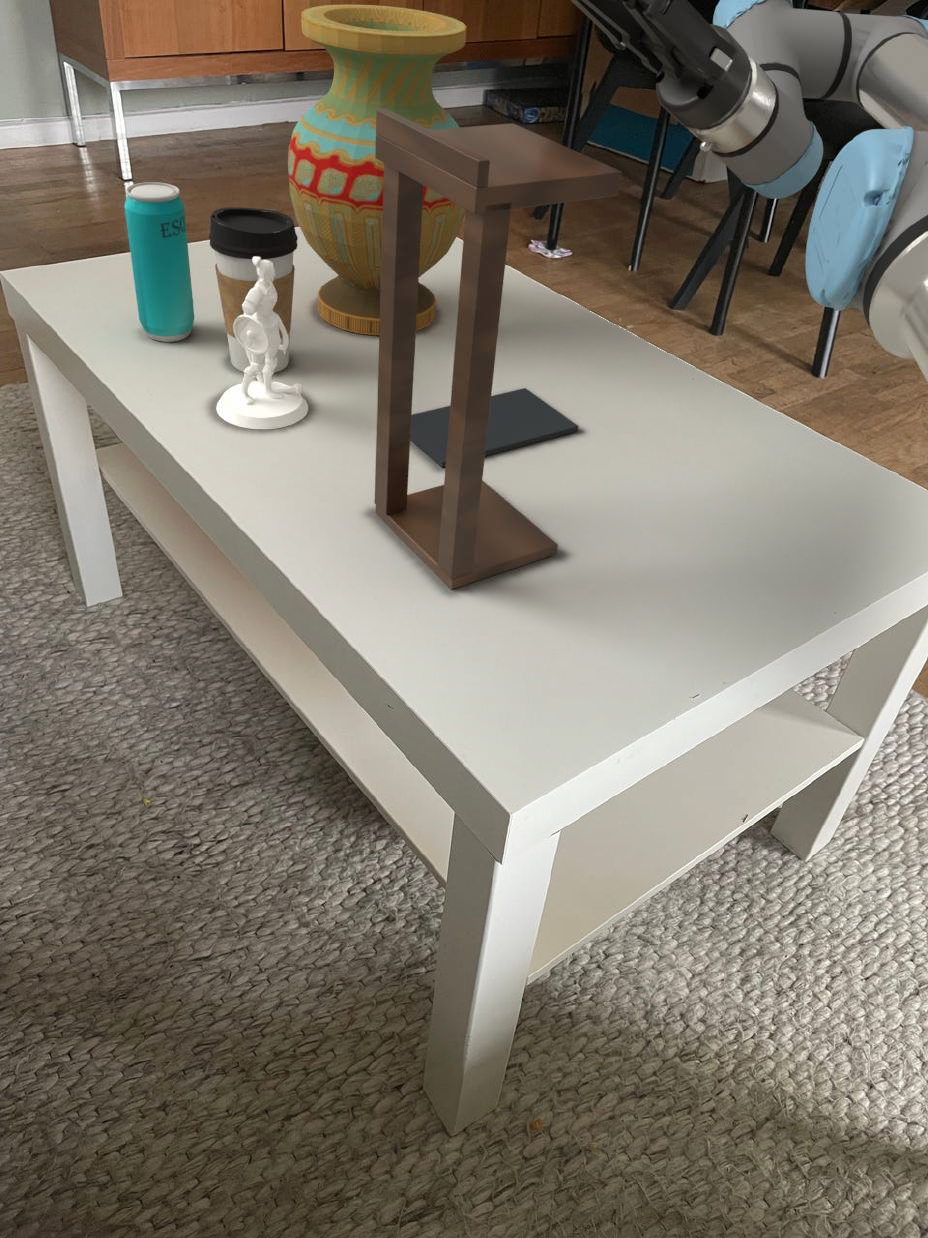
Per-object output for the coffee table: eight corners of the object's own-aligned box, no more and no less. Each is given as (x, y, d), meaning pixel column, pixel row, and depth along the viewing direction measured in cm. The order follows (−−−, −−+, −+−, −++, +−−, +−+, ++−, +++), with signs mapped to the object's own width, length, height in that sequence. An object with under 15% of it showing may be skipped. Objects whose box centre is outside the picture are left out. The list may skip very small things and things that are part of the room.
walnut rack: (476, 484, 90) (515, 99, 70) (556, 554, 83) (626, 146, 63) (366, 515, 85) (375, 108, 65) (442, 593, 78) (479, 160, 58)
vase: (495, 319, 119) (524, 31, 100) (371, 363, 108) (378, 45, 89) (381, 268, 129) (388, -4, 110) (256, 303, 117) (241, 6, 98)
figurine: (266, 438, 93) (259, 280, 84) (196, 408, 97) (181, 253, 87) (326, 405, 99) (325, 253, 90) (258, 378, 103) (251, 229, 93)
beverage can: (207, 332, 110) (194, 189, 101) (169, 349, 106) (153, 202, 97) (167, 317, 112) (151, 177, 103) (129, 334, 108) (109, 189, 99)
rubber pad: (524, 392, 105) (525, 387, 105) (577, 431, 100) (578, 425, 99) (392, 424, 98) (392, 418, 97) (441, 467, 92) (442, 462, 92)
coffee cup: (214, 347, 108) (202, 202, 98) (293, 342, 110) (289, 201, 100) (224, 382, 101) (212, 232, 92) (307, 377, 104) (304, 229, 94)
